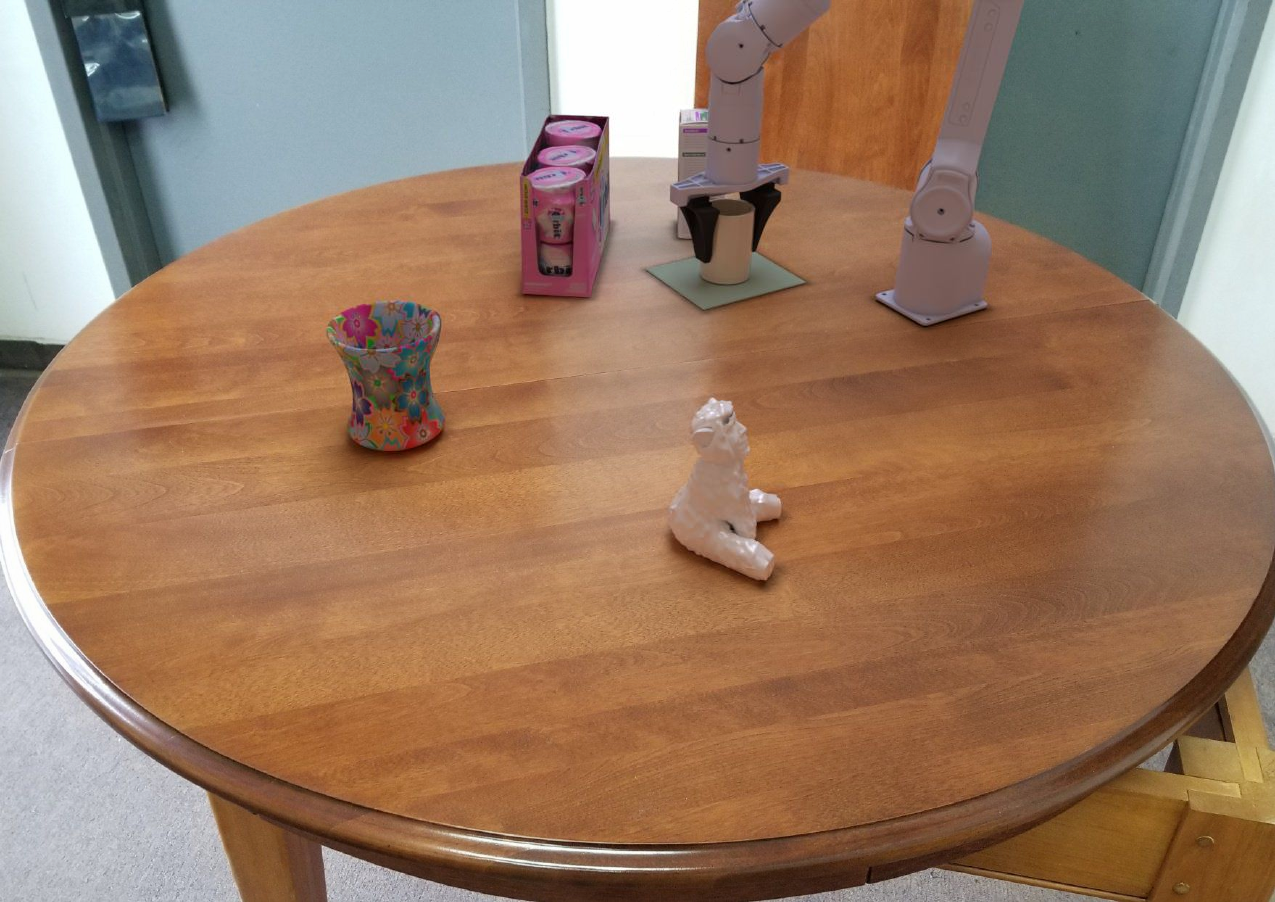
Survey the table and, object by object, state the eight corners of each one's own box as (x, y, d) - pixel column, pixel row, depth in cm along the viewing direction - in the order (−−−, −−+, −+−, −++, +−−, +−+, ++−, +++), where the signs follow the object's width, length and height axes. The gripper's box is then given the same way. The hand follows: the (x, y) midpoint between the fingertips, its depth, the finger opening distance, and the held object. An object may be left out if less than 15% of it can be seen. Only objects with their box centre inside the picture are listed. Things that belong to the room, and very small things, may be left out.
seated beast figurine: (772, 587, 78) (787, 451, 72) (656, 573, 80) (660, 437, 73) (781, 511, 86) (794, 381, 80) (675, 499, 87) (679, 370, 81)
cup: (730, 259, 127) (735, 194, 122) (760, 277, 122) (765, 210, 118) (689, 269, 124) (692, 203, 120) (718, 288, 120) (722, 220, 115)
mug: (407, 471, 90) (393, 360, 84) (321, 443, 94) (302, 334, 88) (487, 406, 99) (479, 301, 93) (406, 382, 103) (393, 280, 97)
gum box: (590, 304, 117) (589, 183, 110) (519, 301, 118) (512, 180, 110) (611, 221, 137) (611, 115, 129) (549, 219, 137) (545, 112, 130)
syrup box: (723, 239, 132) (730, 122, 124) (675, 239, 132) (679, 121, 124) (721, 222, 137) (727, 108, 129) (675, 221, 137) (678, 107, 129)
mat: (744, 247, 131) (744, 245, 131) (805, 283, 122) (805, 281, 122) (646, 270, 125) (646, 268, 125) (703, 310, 116) (703, 308, 116)
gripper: (766, 116, 120) (757, 230, 128) (656, 135, 114) (653, 254, 122) (805, 133, 115) (793, 251, 123) (692, 154, 109) (687, 277, 117)
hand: (726, 254), depth 122 cm, fingers closed on cup, 6 cm apart
